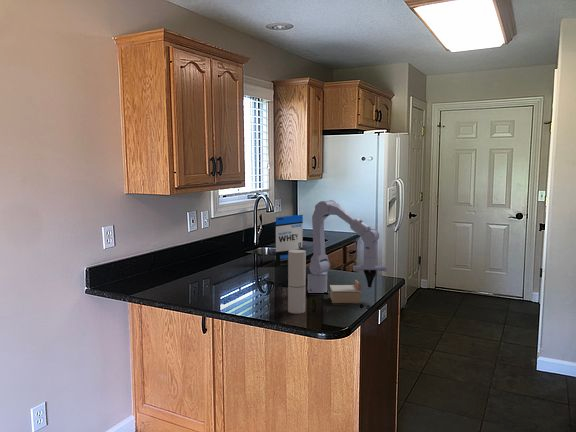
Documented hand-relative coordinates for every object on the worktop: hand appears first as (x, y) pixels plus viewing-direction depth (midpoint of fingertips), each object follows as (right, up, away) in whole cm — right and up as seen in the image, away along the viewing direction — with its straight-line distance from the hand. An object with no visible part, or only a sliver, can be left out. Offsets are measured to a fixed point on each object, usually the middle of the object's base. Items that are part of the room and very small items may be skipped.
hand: (369, 286), depth 213 cm
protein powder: (-35, +1, +82) cm, 89 cm away
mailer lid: (-11, -1, 0) cm, 11 cm away
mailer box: (-11, -6, 0) cm, 13 cm away
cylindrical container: (-33, -8, -15) cm, 37 cm away
